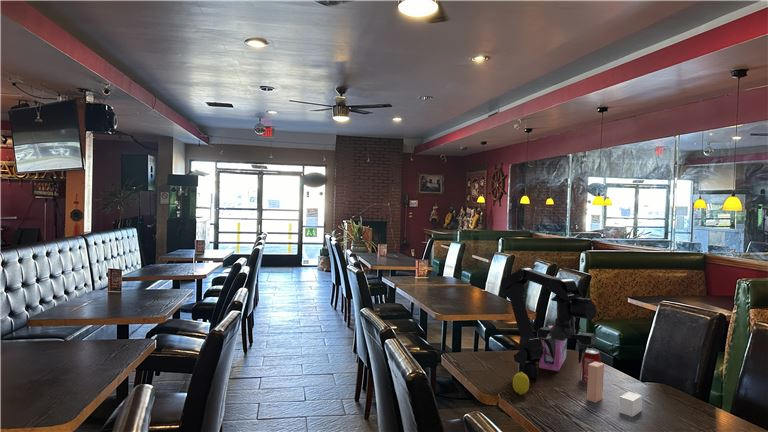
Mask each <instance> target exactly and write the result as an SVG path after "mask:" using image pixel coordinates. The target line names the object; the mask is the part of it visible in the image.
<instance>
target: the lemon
mask: <svg viewBox="0 0 768 432" xmlns="http://www.w3.org/2000/svg"><path fill="white" fill-rule="evenodd" d="M512 387H513V390H514V391H515V392H516V393H517V394H519V396H522V395H524V394H526V393H527V392H528V391H529V389H530V381H529V379H528V377H527V375H526V374H524V373H523V372H520V373H518V372H516V374H515V375H514V376H513V378H512Z"/></svg>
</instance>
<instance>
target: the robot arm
mask: <svg viewBox="0 0 768 432" xmlns="http://www.w3.org/2000/svg"><path fill="white" fill-rule="evenodd" d="M528 282H532V283H535V284H537V285H540V286H542V287H545V288H547V289H548V290H549V291H550V292H551V293H553V294H554V296H553V297H552V298H551V302H556V318H555V320H554V322H555V323H554V324H555V325H553V326H552V328H547V327H548V326H542V327H541V328H539V329H537V331H536V334H537V335H535V334H534V331H533V329H532V328H533V327H532V324H531V321H530V318H529V314H528V310H527V308H526V303H525V300H524V294H525V285H526V284H527V283H528ZM500 286H501V289H502V291H503V295H505V297H507V299H508V300H509V301H510V305H511V308H512V312H513V315H514V319H515V322H516V326H517V329H518V333H519V337H520V339H519V343H518V350H519V351H517V353H515V354H514V355H513V360H514V363H517V373H520V372H523V373H524V374H526V375H527V377H528V379H529V382H537V381H538V380H537V379H538V371H539V370H538V369H539V366H537V363H539V362H540V359H541V357H542V356H543V354H544V351H543V349H544V347H543V345H542V341H541V340H544V341H545V342H546V344H547V346H548V348H549V351H550V353H551V356H552V358H553V359H554V358H555V339H556V340H560V341H564V340H566V338H567V340H569V339H570V340H576V341H578V342H579V343H578V344H577V346H578V364H581V362H582V359H583V357H584V354H585V352H586V350H587V349H589V346H592V345H595V344H596V343H597V335H596V334H595V333H591V332H583V333H580V334H579V333H578V334H577V329H576V327H575V322H576V321H577V318H578V319H583V320H589V321H592V320H594V319H595V318H596V316H597V311H598V310H597V307H596V305H595V303H594V302H593V299H592V298H585V297H584V295H583V294H582V292H581V291H580V289H579V287H578V285H577V283H576V280H574V279H572V278H568V277H557V276H552V275H549V274H546V273H544V272H540V271H538V270H536V269H535V270H534V269H532V268H531V267H520V268H519V269H517V270H516V271H515V272H513V273H511V274H509V275H507V276H505V277H503V278H502V280H501V282H500Z"/></svg>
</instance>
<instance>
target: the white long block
mask: <svg viewBox="0 0 768 432" xmlns="http://www.w3.org/2000/svg"><path fill="white" fill-rule="evenodd" d="M642 404H643V395H642V394H639V393H636V392H632V391H628V392H625V393H624V394H622V395H621V396H619V407H618V408H619V410H617V412H619V413H621V414H624V415H626V416H628V417H634V416H636V415H637V414H639V413H640V412H641V411H642V408H643V407H642Z"/></svg>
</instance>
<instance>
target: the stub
mask: <svg viewBox="0 0 768 432" xmlns="http://www.w3.org/2000/svg"><path fill="white" fill-rule="evenodd" d="M604 370H605V363H602V362H601V363H599V362H593V363H591V364H588V384H587V389H586V390H587V391H586V401H589V402H593V403H597V402H600V401H601V400H603V395H604V393H603V392H604V373H605V372H604Z"/></svg>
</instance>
